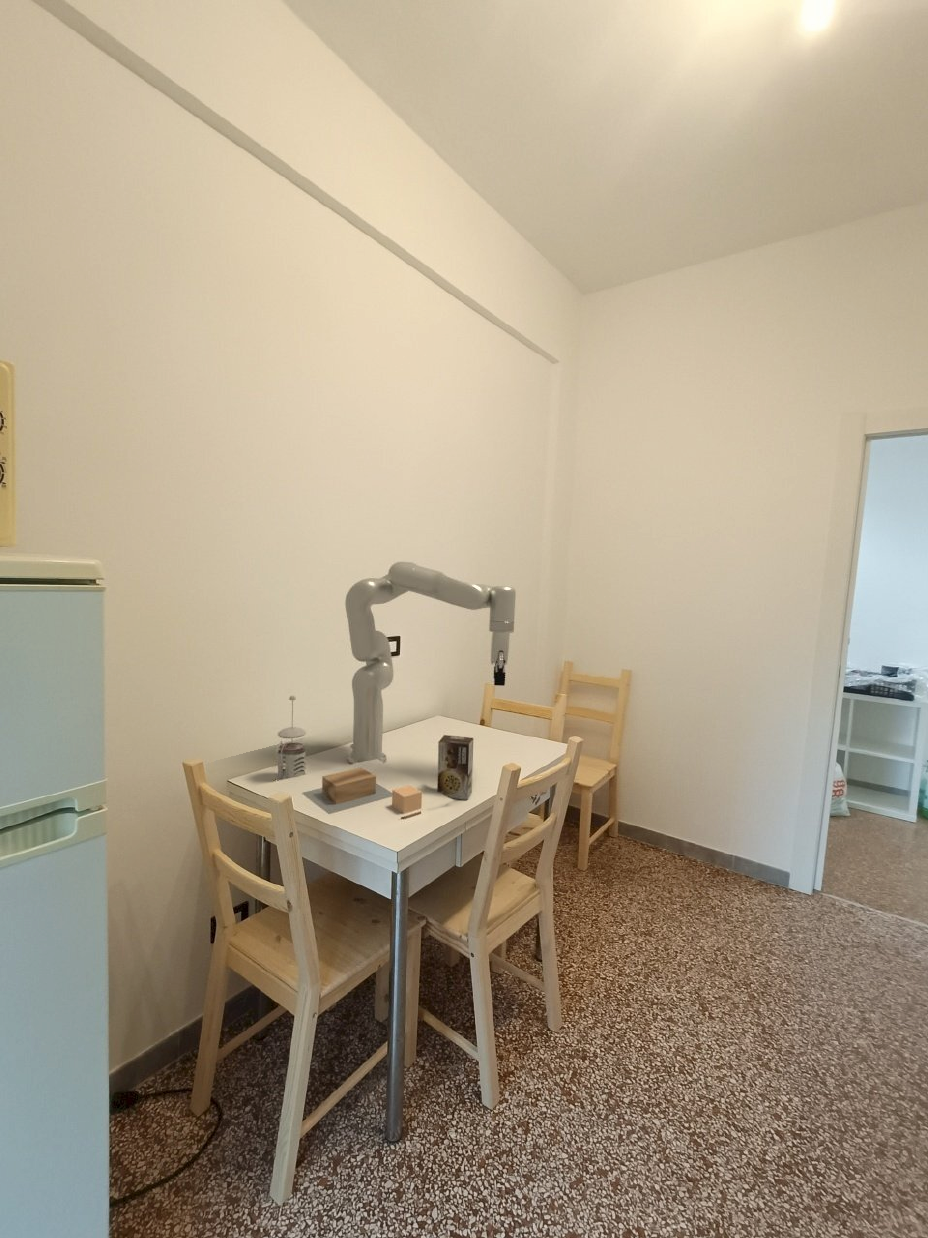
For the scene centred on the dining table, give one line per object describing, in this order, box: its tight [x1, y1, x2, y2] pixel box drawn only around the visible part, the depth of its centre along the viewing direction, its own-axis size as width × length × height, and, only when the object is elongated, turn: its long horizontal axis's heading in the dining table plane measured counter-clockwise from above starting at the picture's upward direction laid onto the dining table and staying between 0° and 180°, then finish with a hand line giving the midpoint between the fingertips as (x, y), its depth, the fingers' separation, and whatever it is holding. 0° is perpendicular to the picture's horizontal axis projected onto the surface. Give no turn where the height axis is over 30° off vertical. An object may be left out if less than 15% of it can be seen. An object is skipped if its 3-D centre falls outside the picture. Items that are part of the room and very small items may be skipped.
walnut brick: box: [321, 767, 377, 804], centre depth 149 cm, size 8×12×5 cm, turn 131°
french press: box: [274, 695, 307, 782], centre depth 161 cm, size 10×12×25 cm
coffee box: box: [436, 734, 474, 800], centre depth 155 cm, size 9×6×16 cm
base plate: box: [301, 783, 392, 815], centre depth 149 cm, size 16×20×2 cm
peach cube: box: [391, 784, 423, 820], centre depth 142 cm, size 6×6×6 cm
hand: (498, 682), depth 167 cm, fingers open, 9 cm apart
